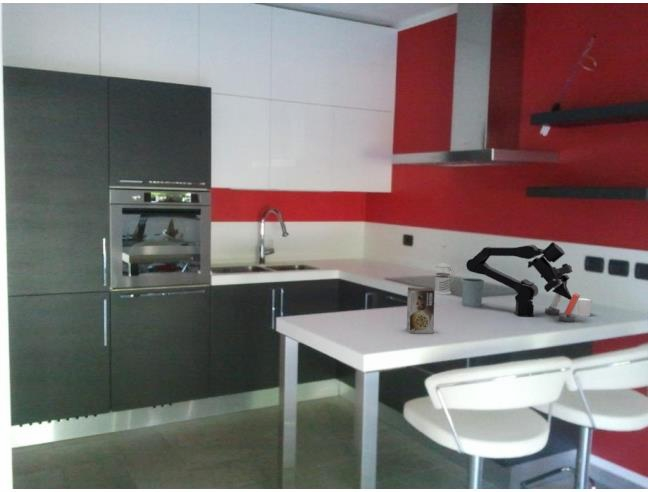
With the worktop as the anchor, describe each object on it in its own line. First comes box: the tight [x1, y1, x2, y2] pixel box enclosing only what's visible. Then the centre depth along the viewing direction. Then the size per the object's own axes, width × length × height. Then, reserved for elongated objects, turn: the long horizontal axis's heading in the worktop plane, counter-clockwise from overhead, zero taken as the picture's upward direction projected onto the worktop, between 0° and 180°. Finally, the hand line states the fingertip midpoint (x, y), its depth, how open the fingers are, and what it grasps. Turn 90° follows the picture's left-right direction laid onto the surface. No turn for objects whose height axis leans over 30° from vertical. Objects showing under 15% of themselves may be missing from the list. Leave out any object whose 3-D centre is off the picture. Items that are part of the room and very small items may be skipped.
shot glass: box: [574, 297, 593, 317], centre depth 261 cm, size 7×7×7 cm
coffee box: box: [406, 286, 435, 334], centre depth 222 cm, size 9×6×16 cm
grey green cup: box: [460, 277, 485, 308], centre depth 278 cm, size 10×10×12 cm
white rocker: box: [550, 293, 563, 309], centre depth 261 cm, size 2×5×10 cm, turn 144°
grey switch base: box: [544, 305, 561, 316], centre depth 262 cm, size 6×6×4 cm
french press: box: [433, 244, 455, 295], centre depth 312 cm, size 10×12×25 cm
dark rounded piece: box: [557, 312, 575, 323], centre depth 248 cm, size 6×6×4 cm
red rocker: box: [563, 292, 581, 316], centre depth 246 cm, size 2×5×10 cm, turn 144°
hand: (571, 299), depth 246 cm, fingers closed, pressing on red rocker
